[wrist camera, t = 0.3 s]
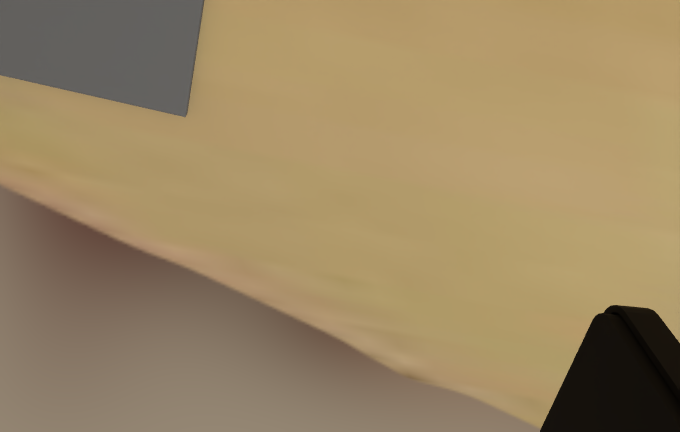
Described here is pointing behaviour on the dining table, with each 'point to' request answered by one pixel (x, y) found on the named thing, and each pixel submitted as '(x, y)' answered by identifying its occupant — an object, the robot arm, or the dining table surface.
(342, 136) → the dining table surface
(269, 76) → the dining table surface
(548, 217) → the dining table surface
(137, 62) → the mat
